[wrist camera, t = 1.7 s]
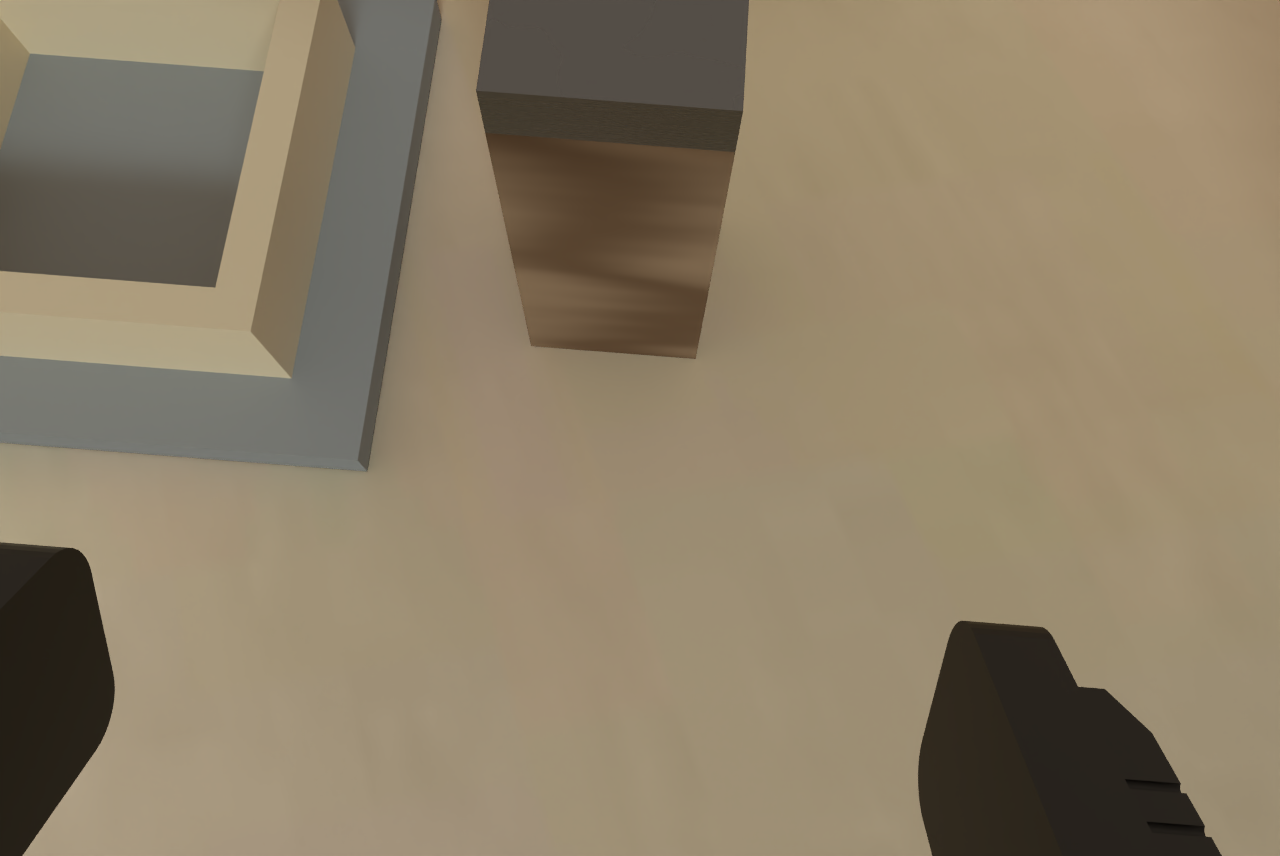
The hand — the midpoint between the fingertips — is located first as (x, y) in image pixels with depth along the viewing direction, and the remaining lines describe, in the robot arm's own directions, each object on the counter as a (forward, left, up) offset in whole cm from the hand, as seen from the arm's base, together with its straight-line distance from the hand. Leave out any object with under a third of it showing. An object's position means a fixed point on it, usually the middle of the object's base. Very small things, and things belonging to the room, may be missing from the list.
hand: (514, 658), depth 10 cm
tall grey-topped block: (0, -12, -15) cm, 19 cm away
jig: (+13, -13, -15) cm, 24 cm away
